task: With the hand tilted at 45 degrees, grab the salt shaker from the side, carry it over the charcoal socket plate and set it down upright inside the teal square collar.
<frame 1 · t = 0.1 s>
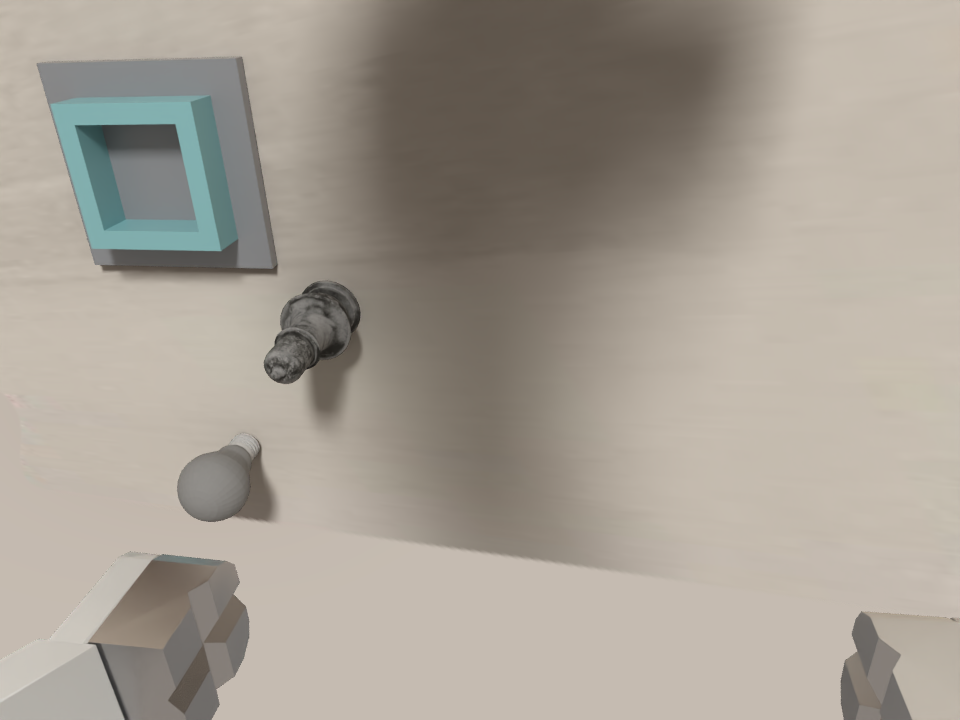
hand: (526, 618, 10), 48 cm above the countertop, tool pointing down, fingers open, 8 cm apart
socket: (166, 167, 60), on the countertop
light bulb: (249, 440, 71), on the countertop
salt shaker: (330, 309, 63), on the countertop
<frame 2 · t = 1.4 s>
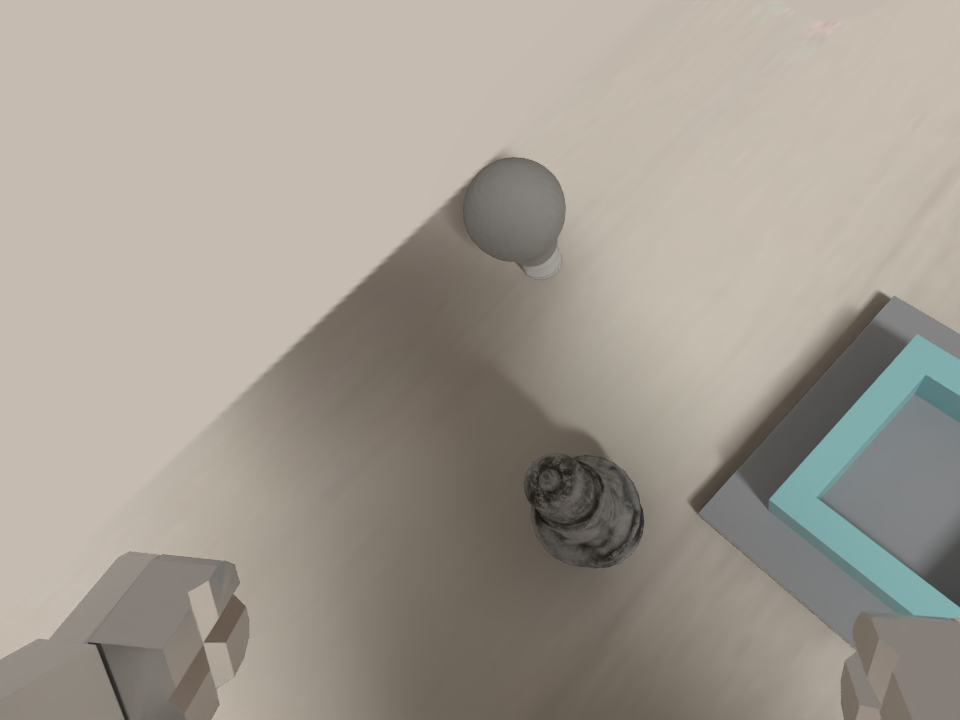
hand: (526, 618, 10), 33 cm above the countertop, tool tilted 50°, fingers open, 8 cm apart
socket: (933, 506, 38), on the countertop
light bulb: (545, 266, 50), on the countertop
salt shaker: (597, 521, 43), on the countertop
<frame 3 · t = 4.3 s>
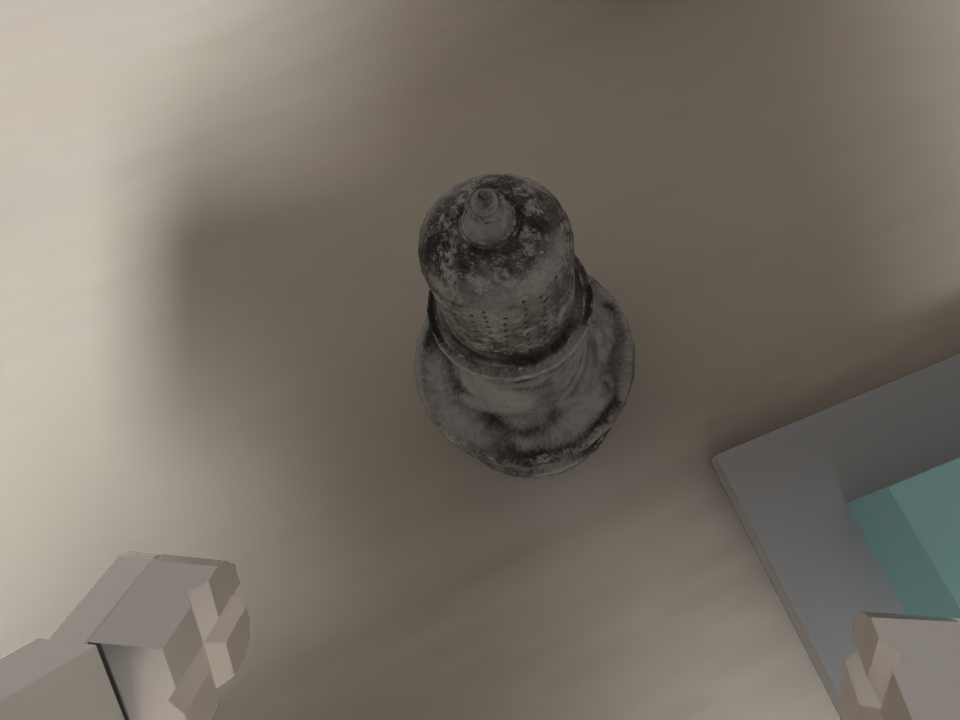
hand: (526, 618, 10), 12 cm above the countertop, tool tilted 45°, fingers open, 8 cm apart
salt shaker: (531, 394, 23), on the countertop
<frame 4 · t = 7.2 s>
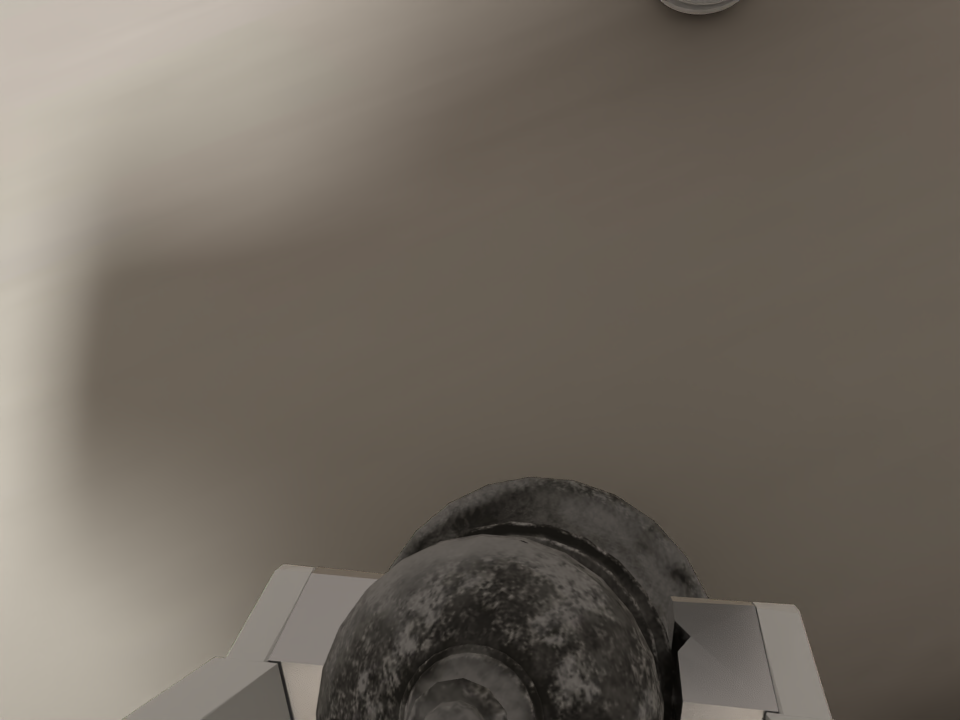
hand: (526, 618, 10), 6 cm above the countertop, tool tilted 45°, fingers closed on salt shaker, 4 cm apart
salt shaker: (550, 642, 16), on the countertop, touching gripper
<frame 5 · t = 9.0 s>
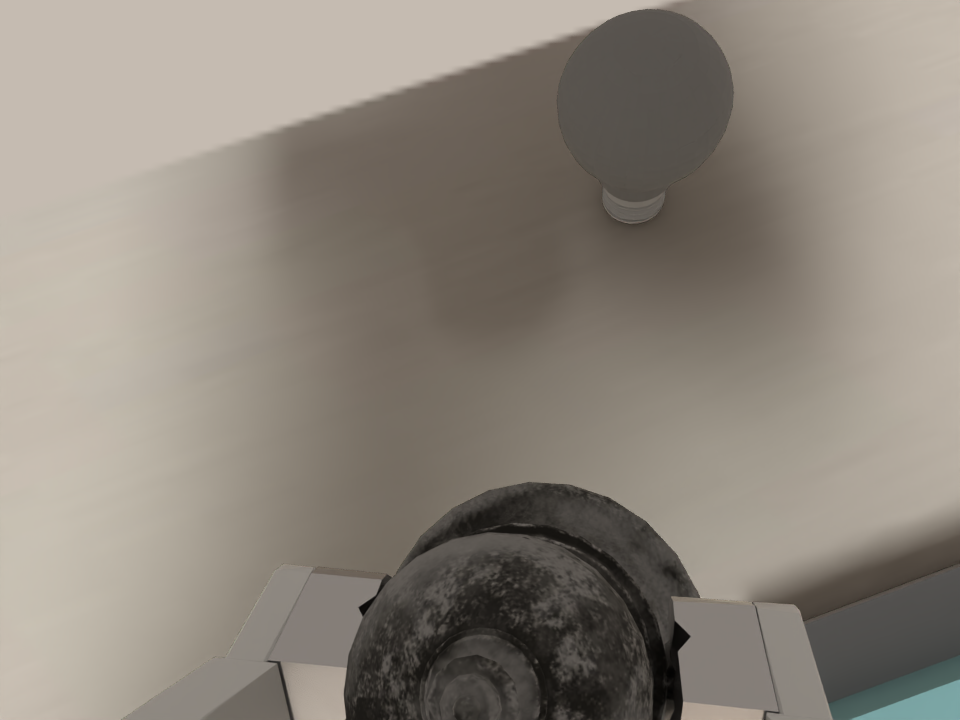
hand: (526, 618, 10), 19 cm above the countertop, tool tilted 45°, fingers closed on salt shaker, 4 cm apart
light bulb: (632, 205, 33), on the countertop
salt shaker: (550, 641, 17), point 12 cm above the countertop, touching gripper
when the fingers open (13 cm above the countertop, at t = 11.3 s): salt shaker drops 4 cm, resting on socket.
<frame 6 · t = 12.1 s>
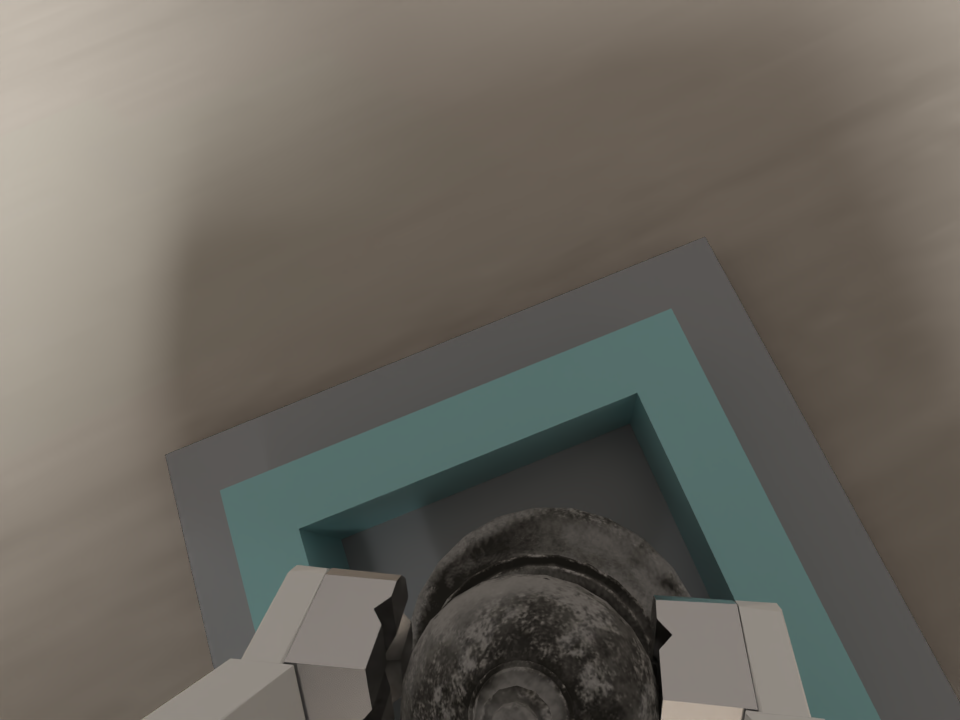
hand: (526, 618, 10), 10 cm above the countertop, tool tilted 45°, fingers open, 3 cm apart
socket: (546, 635, 19), on the countertop
salt shaker: (559, 649, 18), point 1 cm above the countertop, touching gripper, socket
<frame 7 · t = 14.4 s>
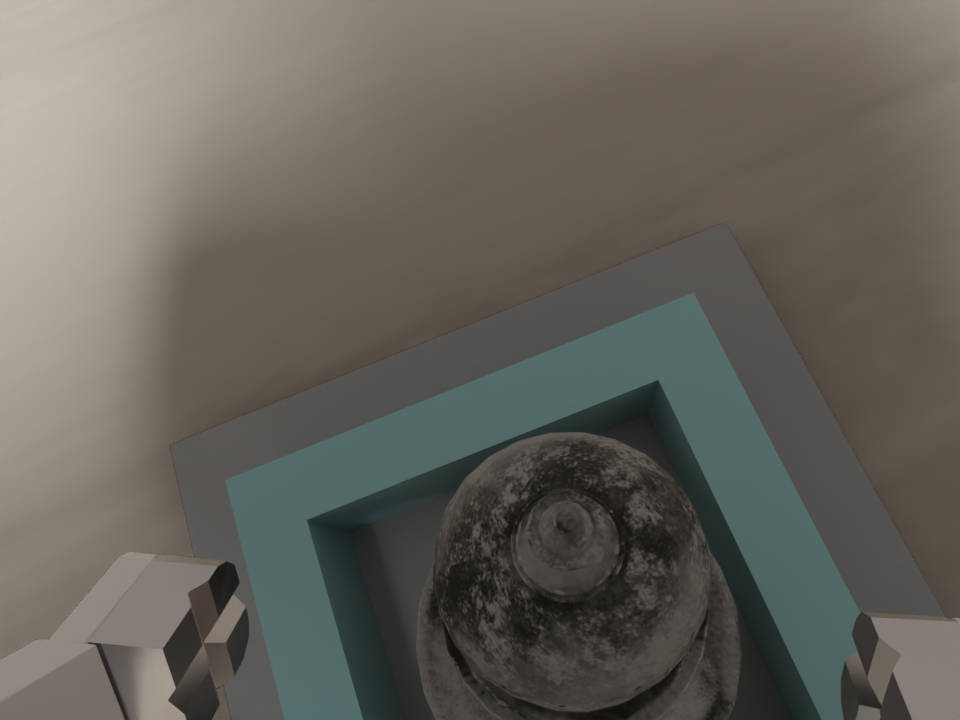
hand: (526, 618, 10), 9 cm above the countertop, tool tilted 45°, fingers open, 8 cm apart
socket: (561, 632, 18), on the countertop
salt shaker: (575, 647, 17), point 1 cm above the countertop, touching socket
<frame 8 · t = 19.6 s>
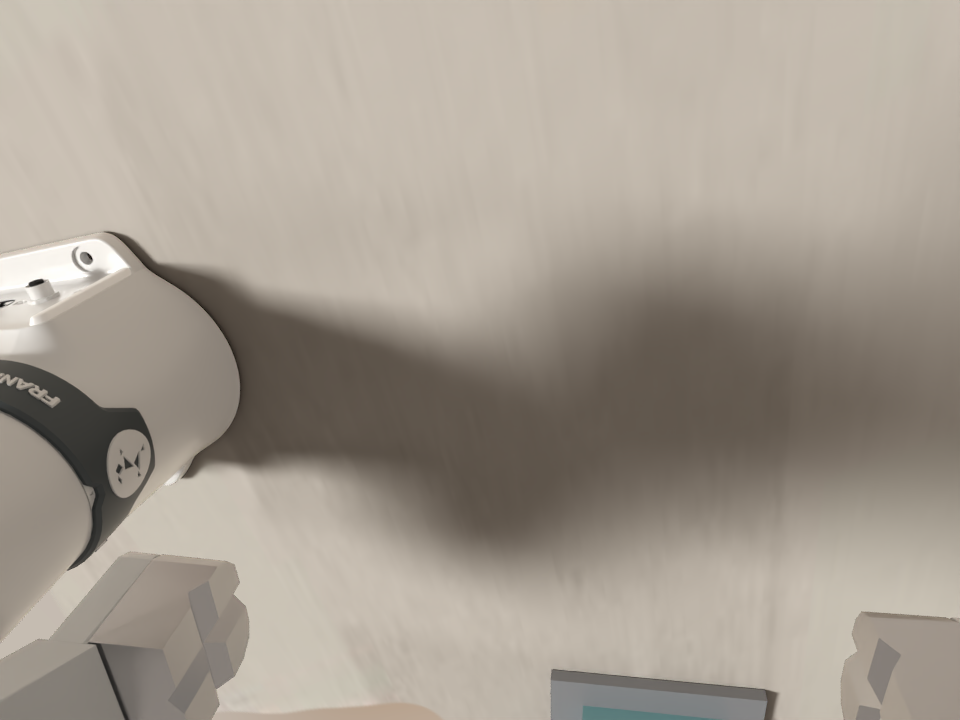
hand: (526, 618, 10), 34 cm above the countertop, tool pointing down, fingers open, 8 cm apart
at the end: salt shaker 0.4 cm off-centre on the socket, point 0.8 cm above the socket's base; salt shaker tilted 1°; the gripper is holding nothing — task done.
